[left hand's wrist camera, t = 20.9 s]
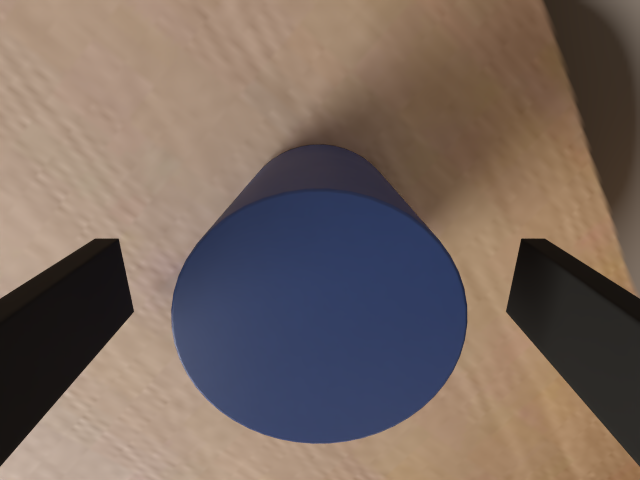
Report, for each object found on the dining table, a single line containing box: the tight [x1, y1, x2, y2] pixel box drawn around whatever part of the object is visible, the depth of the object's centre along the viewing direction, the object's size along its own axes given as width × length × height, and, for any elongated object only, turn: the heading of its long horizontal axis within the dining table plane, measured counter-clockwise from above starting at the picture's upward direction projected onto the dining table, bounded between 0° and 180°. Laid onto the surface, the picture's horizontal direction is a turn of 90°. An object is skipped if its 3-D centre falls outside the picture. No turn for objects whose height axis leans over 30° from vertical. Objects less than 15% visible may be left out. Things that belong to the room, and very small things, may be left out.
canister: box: [171, 145, 467, 444], centre depth 14 cm, size 8×8×10 cm
